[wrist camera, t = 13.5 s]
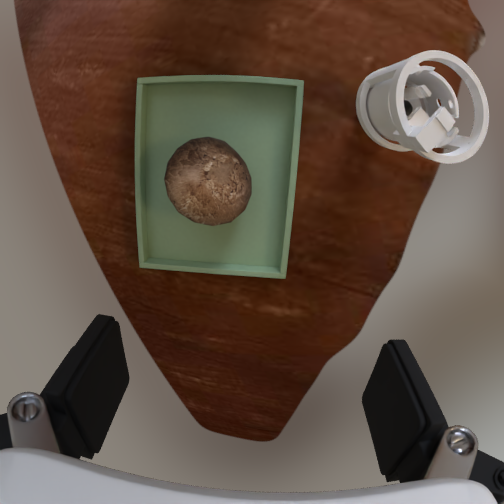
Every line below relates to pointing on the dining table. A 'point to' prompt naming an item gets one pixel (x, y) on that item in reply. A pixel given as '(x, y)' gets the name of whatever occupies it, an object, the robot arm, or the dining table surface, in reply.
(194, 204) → the mushroom
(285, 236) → the tray
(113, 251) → the dining table surface
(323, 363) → the dining table surface
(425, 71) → the white open cylindrical frame
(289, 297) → the dining table surface
